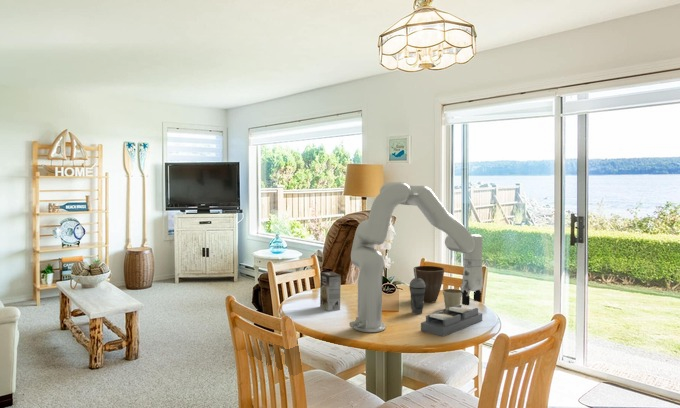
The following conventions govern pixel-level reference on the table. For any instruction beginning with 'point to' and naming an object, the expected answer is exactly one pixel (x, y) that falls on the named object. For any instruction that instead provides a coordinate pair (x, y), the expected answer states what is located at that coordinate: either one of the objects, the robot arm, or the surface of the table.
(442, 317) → the inner rocker
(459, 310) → the outer rocker
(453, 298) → the flower pot
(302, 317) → the table surface
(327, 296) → the coffee box
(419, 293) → the beverage cup
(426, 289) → the plant pot
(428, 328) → the switch panel
